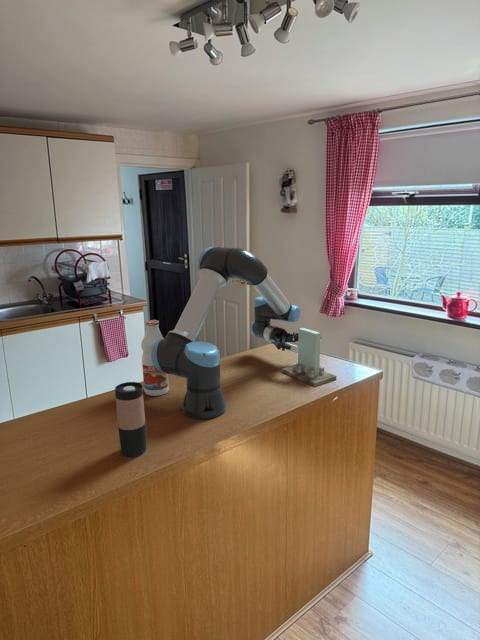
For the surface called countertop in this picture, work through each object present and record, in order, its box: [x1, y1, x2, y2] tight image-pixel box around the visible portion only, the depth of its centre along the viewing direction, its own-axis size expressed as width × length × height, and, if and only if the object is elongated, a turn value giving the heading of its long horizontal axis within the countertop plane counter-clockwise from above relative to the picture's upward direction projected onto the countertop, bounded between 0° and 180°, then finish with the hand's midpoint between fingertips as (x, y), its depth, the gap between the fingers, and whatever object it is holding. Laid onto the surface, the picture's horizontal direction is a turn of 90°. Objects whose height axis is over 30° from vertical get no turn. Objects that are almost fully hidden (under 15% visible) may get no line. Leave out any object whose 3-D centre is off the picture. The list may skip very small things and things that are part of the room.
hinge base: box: [281, 362, 337, 387], centre depth 181 cm, size 20×12×4 cm, turn 36°
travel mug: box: [114, 381, 147, 458], centre depth 125 cm, size 8×8×20 cm
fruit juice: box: [140, 319, 170, 397], centre depth 165 cm, size 9×9×28 cm
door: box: [297, 327, 322, 376], centre depth 180 cm, size 11×4×18 cm, turn 36°
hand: (309, 346), depth 179 cm, fingers open, 13 cm apart
